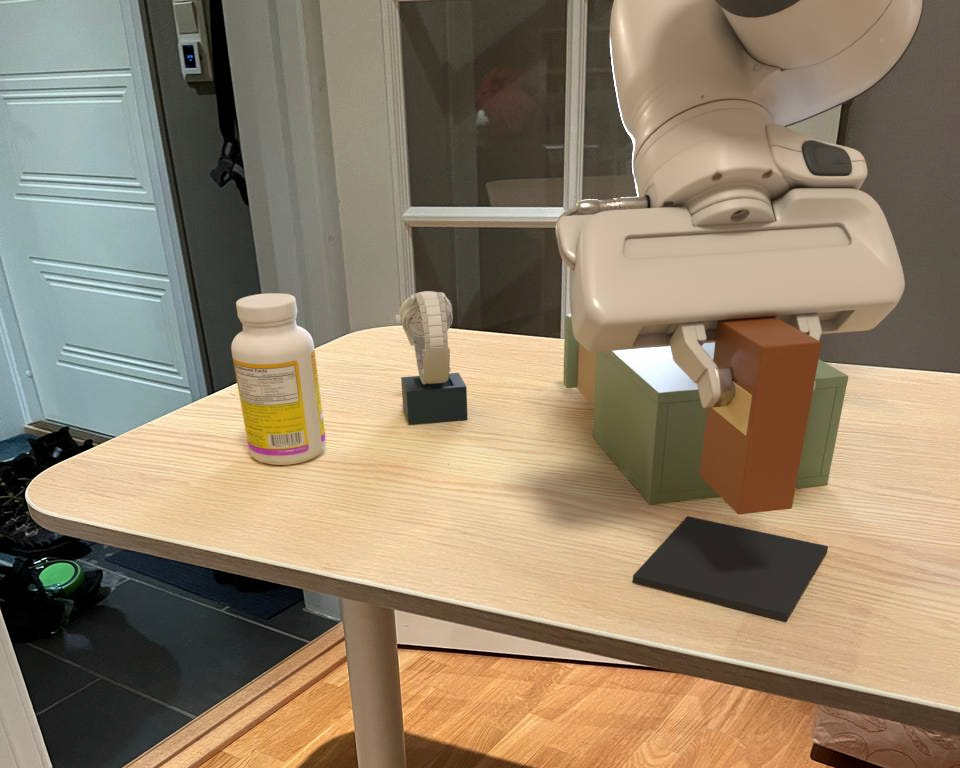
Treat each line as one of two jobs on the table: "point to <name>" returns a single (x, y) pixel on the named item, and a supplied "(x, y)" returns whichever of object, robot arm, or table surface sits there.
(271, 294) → the supplement bottle
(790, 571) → the slate mat
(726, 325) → the brown rectangular block
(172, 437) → the table surface
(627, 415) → the cabinet
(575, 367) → the drawer
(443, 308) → the watch
